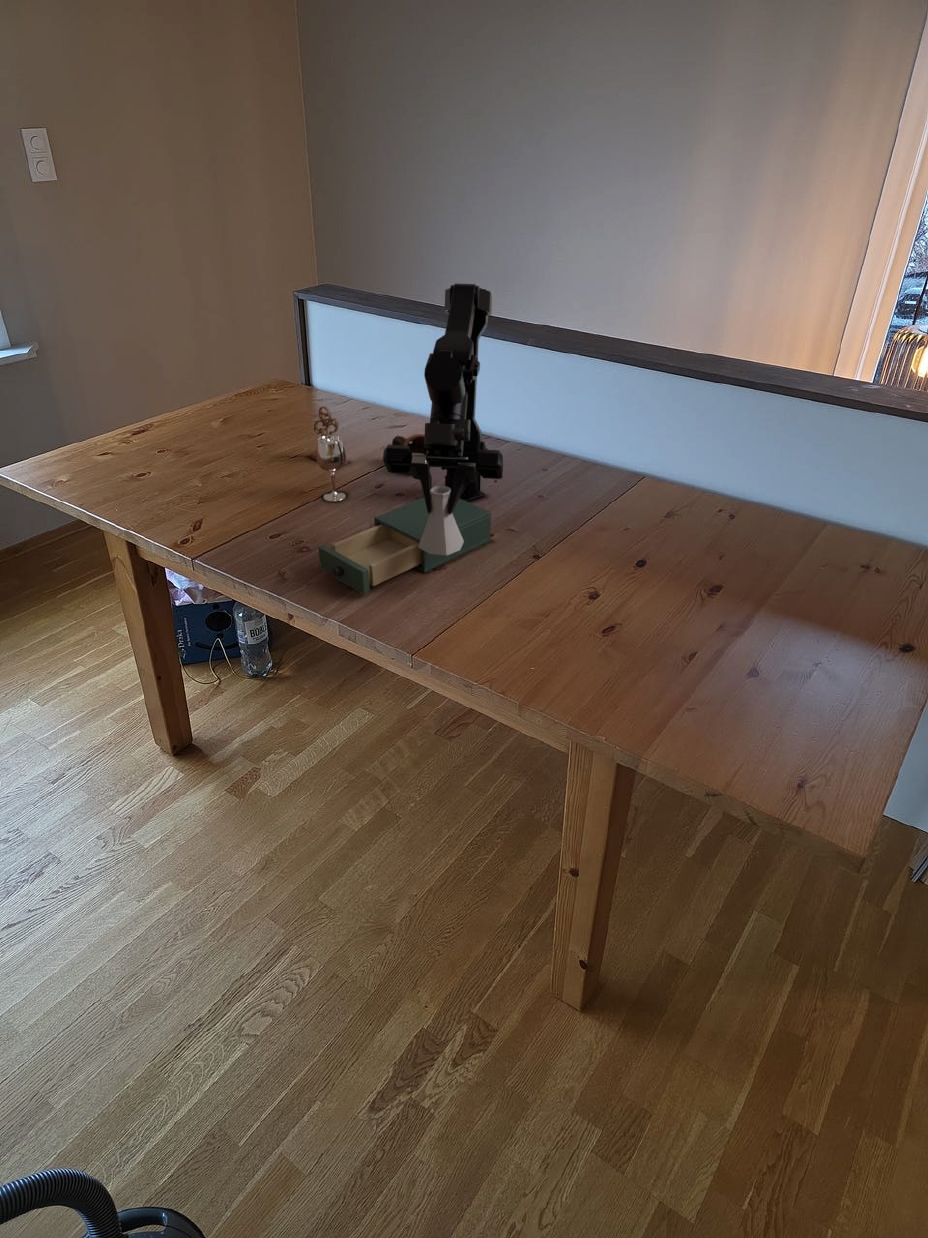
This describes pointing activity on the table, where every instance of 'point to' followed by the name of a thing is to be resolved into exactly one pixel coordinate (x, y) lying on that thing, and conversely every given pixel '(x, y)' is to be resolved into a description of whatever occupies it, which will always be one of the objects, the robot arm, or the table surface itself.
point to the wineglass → (331, 461)
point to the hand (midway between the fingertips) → (439, 513)
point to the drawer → (370, 557)
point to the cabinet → (414, 519)
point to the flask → (441, 526)
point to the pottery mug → (415, 446)
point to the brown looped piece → (326, 424)
